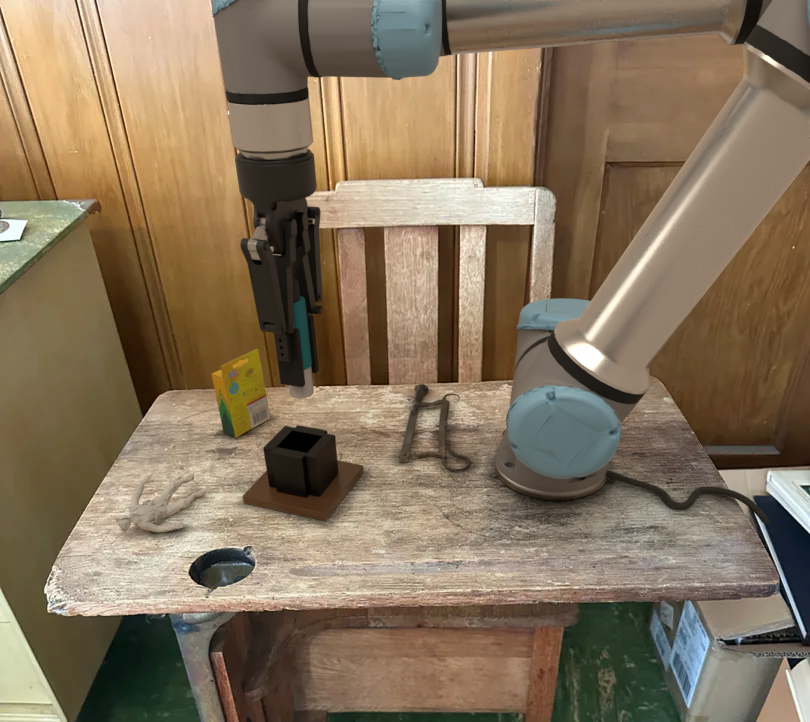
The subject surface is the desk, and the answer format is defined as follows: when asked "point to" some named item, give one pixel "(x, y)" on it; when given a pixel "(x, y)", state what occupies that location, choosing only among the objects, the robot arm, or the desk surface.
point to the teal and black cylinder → (302, 344)
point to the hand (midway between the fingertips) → (300, 376)
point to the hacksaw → (442, 453)
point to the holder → (303, 474)
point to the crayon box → (241, 394)
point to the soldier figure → (156, 507)
